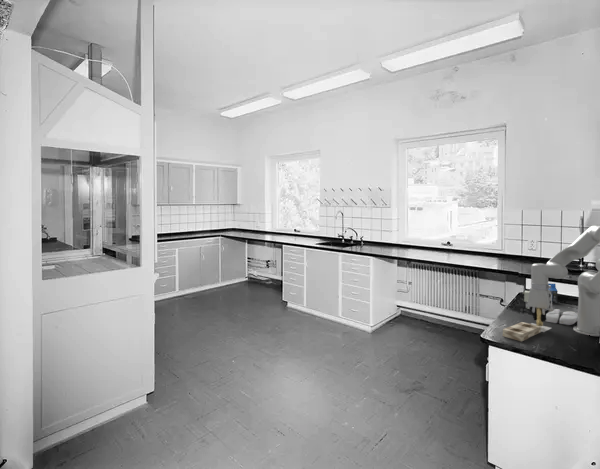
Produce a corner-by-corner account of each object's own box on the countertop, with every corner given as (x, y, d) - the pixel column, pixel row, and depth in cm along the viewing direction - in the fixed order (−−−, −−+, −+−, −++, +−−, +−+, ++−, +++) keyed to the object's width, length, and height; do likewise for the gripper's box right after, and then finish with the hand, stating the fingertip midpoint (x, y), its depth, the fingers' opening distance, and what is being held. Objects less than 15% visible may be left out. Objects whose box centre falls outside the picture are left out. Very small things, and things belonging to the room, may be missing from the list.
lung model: (538, 321, 203) (545, 315, 222) (577, 328, 192) (580, 321, 210) (539, 309, 203) (546, 304, 222) (578, 316, 192) (581, 310, 210)
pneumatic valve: (542, 311, 222) (542, 292, 221) (520, 308, 229) (520, 289, 228) (542, 309, 227) (542, 290, 226) (520, 306, 233) (521, 288, 232)
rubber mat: (552, 328, 191) (552, 328, 191) (543, 332, 185) (543, 331, 185) (531, 323, 199) (531, 323, 199) (522, 327, 194) (522, 326, 194)
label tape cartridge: (541, 302, 243) (542, 284, 242) (539, 300, 247) (540, 283, 246) (557, 303, 240) (557, 284, 239) (554, 301, 244) (555, 283, 243)
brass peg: (544, 325, 191) (544, 306, 191) (541, 326, 190) (541, 308, 189) (537, 323, 194) (537, 305, 193) (535, 325, 192) (535, 306, 192)
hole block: (540, 333, 185) (540, 326, 184) (521, 341, 174) (521, 334, 173) (522, 328, 192) (522, 321, 192) (502, 336, 181) (502, 329, 181)
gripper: (560, 288, 186) (560, 322, 187) (526, 283, 199) (526, 315, 201) (554, 290, 182) (553, 325, 183) (519, 285, 195) (519, 318, 196)
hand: (539, 320), depth 192 cm, fingers closed on brass peg, 3 cm apart
